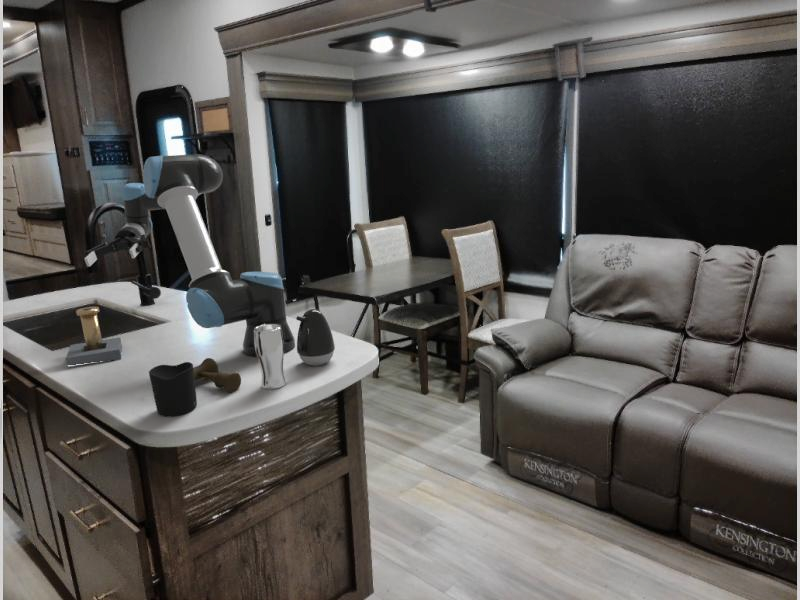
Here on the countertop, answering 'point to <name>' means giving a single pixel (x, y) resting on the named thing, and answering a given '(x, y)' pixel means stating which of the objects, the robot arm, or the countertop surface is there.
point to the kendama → (217, 375)
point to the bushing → (90, 327)
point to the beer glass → (270, 355)
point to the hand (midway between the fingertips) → (109, 258)
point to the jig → (94, 352)
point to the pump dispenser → (314, 338)
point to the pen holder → (174, 388)
